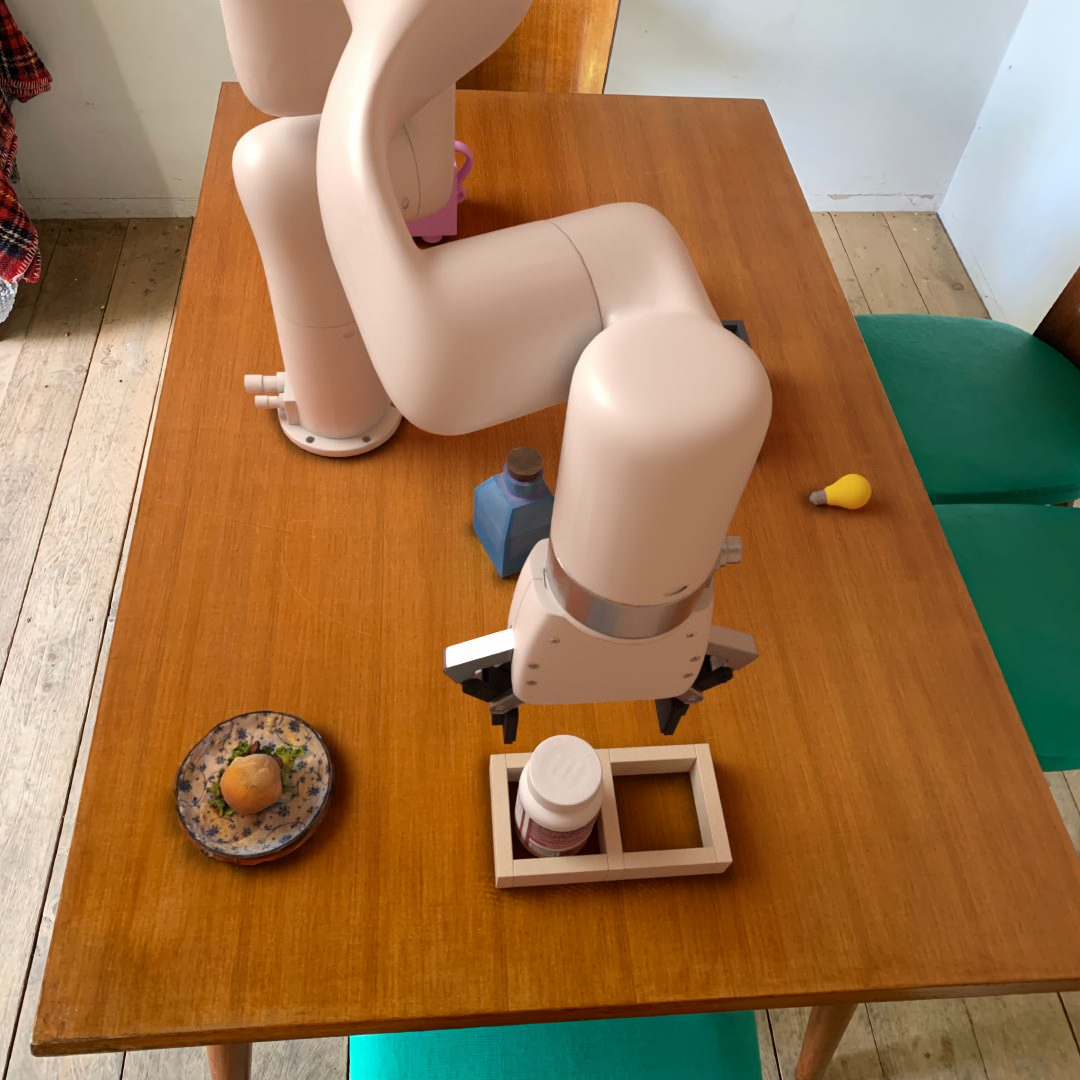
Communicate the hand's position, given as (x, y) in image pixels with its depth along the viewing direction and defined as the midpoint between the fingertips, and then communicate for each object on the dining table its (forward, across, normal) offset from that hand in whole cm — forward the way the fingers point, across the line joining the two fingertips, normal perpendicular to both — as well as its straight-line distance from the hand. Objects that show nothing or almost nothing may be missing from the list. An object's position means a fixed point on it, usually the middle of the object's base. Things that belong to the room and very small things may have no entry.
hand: (585, 717), depth 56 cm
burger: (+20, +23, -4) cm, 31 cm away
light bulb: (+20, -32, -31) cm, 49 cm away
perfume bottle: (+19, +1, -27) cm, 33 cm away
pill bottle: (+20, 0, 0) cm, 20 cm away
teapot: (+19, +13, -76) cm, 79 cm away
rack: (+20, -4, 0) cm, 20 cm away
